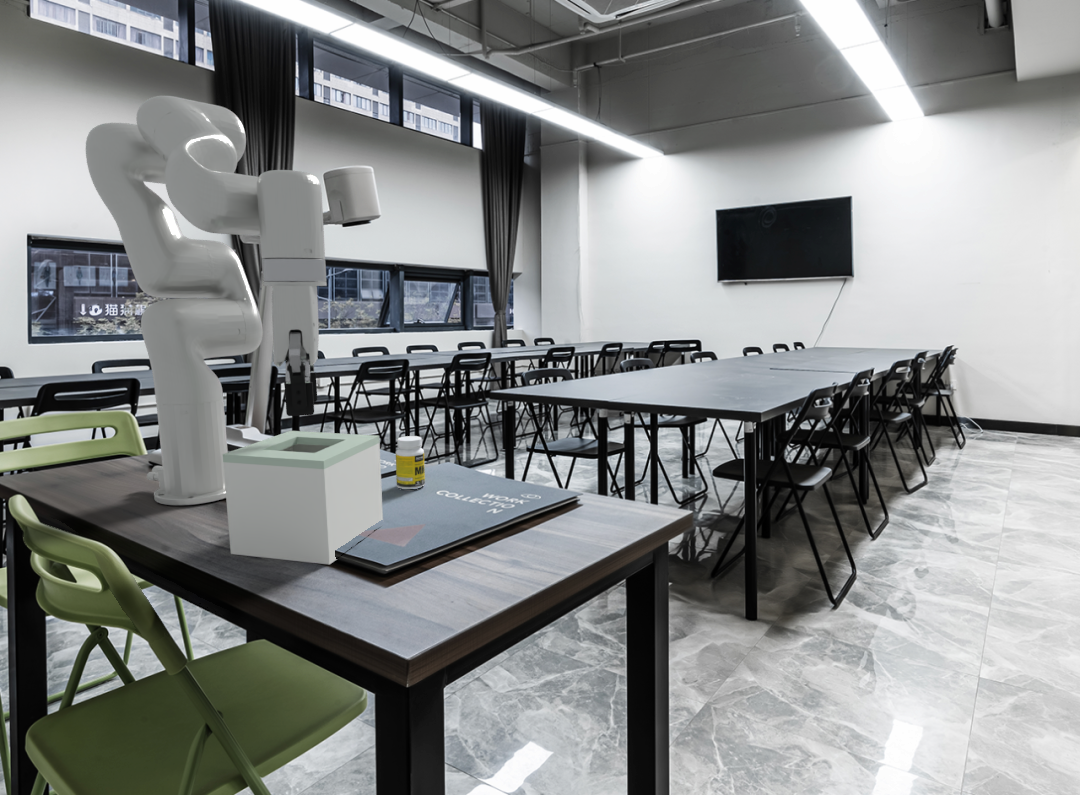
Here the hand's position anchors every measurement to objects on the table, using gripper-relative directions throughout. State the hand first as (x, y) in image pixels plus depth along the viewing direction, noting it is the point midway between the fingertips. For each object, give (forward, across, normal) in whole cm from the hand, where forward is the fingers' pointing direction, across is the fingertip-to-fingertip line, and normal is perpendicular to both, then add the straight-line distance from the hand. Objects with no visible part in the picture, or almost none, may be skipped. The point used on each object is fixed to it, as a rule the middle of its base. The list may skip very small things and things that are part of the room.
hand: (303, 408), depth 87 cm
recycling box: (+18, 0, 0) cm, 18 cm away
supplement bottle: (+18, -20, +15) cm, 31 cm away
